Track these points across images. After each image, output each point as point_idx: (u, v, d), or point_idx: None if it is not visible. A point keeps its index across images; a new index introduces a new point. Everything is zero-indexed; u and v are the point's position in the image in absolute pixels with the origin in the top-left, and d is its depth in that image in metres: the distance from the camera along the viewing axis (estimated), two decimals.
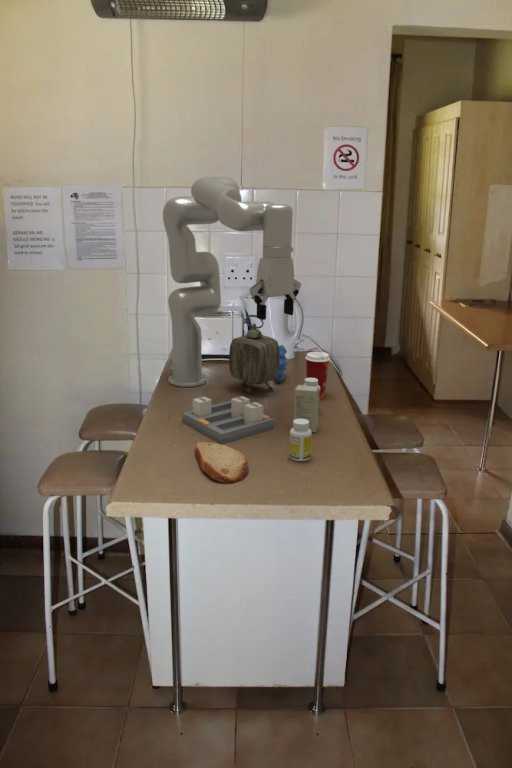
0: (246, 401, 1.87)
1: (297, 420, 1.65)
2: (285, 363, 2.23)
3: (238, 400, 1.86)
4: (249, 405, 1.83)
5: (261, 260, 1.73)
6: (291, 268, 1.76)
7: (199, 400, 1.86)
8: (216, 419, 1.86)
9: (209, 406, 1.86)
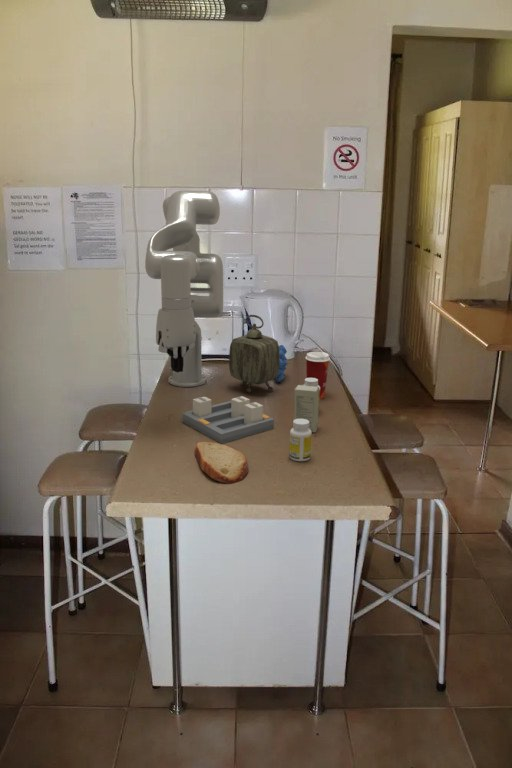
0: (246, 401, 1.87)
1: (297, 420, 1.65)
2: (285, 363, 2.23)
3: (238, 400, 1.86)
4: (249, 405, 1.83)
5: (159, 311, 1.71)
6: (191, 319, 1.74)
7: (199, 400, 1.86)
8: (216, 419, 1.86)
9: (209, 406, 1.86)
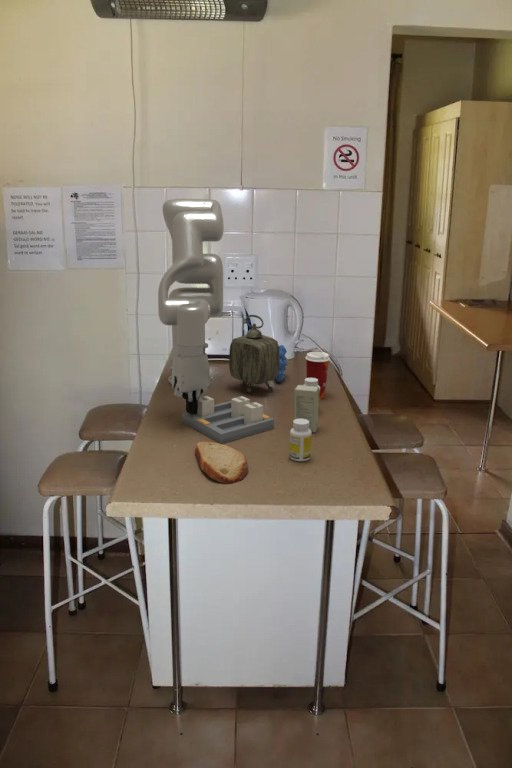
0: (246, 401, 1.87)
1: (297, 420, 1.65)
2: (285, 363, 2.23)
3: (238, 400, 1.86)
4: (249, 405, 1.83)
5: (175, 358, 1.78)
6: (206, 364, 1.81)
7: (202, 399, 1.86)
8: (216, 419, 1.86)
9: (212, 405, 1.87)
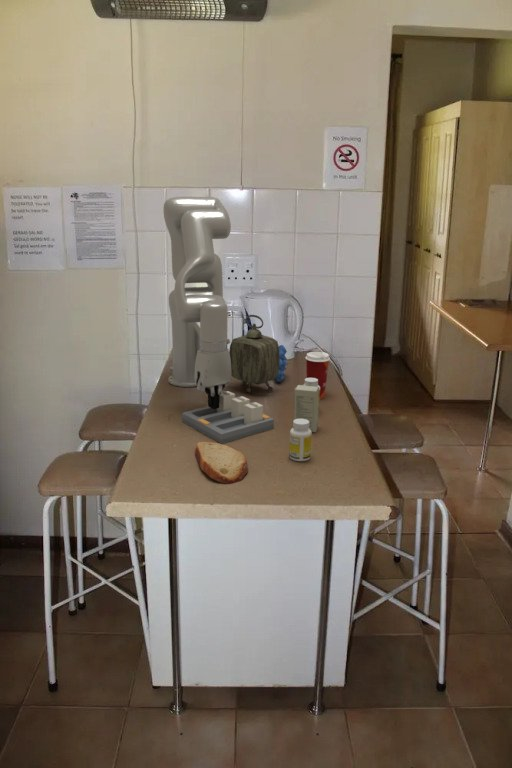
0: (246, 401, 1.87)
1: (297, 420, 1.65)
2: (285, 363, 2.23)
3: (238, 400, 1.86)
4: (249, 405, 1.83)
5: (198, 353, 1.82)
6: (228, 359, 1.86)
7: (223, 394, 1.91)
8: (216, 419, 1.86)
9: None
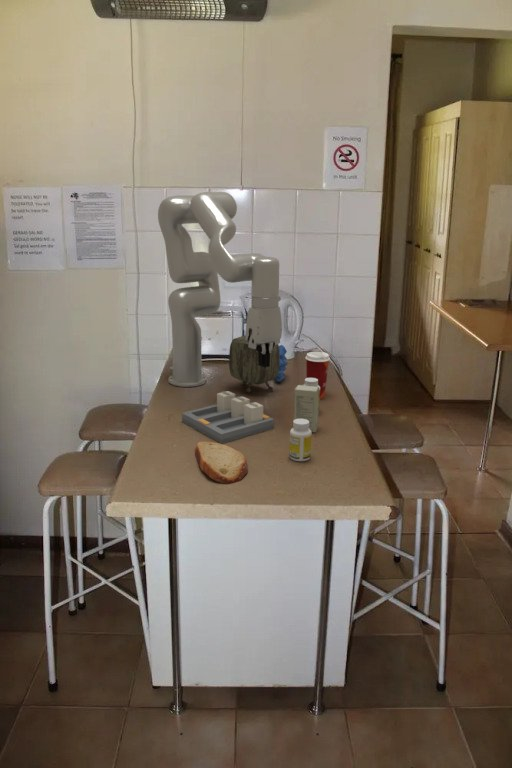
0: (246, 401, 1.87)
1: (297, 420, 1.65)
2: (285, 363, 2.23)
3: (238, 400, 1.86)
4: (249, 405, 1.83)
5: (250, 310, 1.82)
6: (279, 317, 1.85)
7: (223, 394, 1.91)
8: (216, 419, 1.86)
9: None
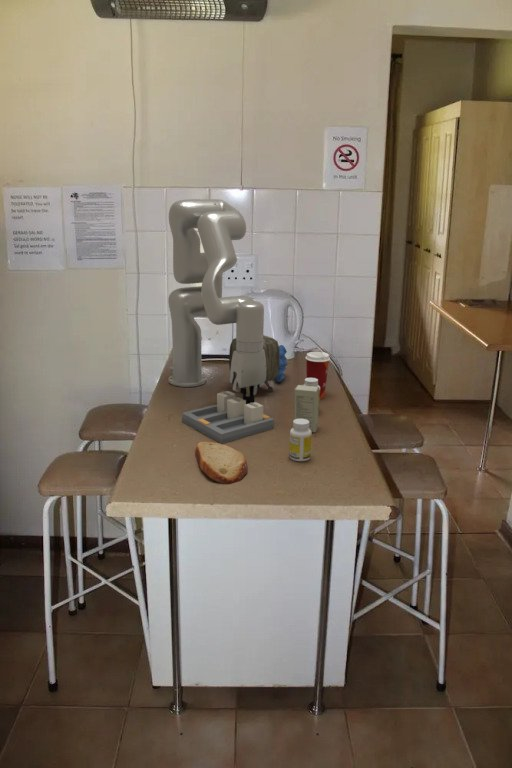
0: (242, 402, 1.86)
1: (297, 420, 1.65)
2: (285, 363, 2.23)
3: (234, 401, 1.85)
4: (249, 405, 1.83)
5: (234, 354, 1.83)
6: (263, 360, 1.86)
7: (223, 394, 1.91)
8: (216, 419, 1.86)
9: None
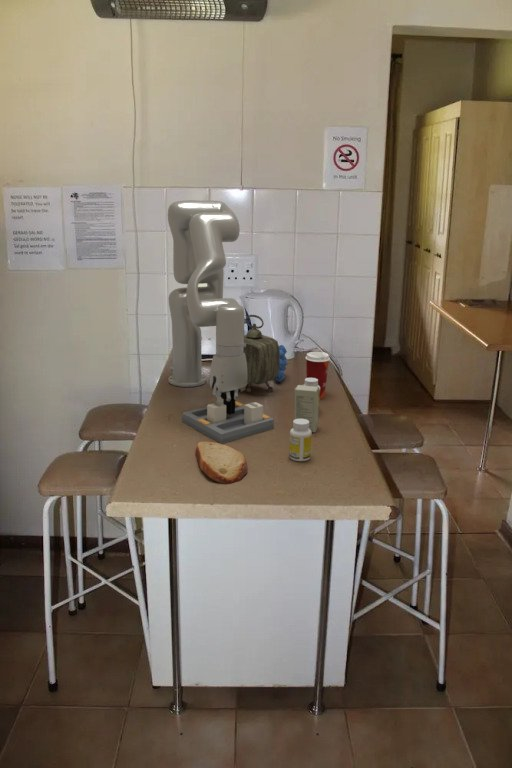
0: (222, 407, 1.82)
1: (297, 420, 1.65)
2: (285, 363, 2.23)
3: (214, 406, 1.81)
4: (249, 405, 1.83)
5: (214, 358, 1.79)
6: (244, 364, 1.82)
7: None
8: None
9: None
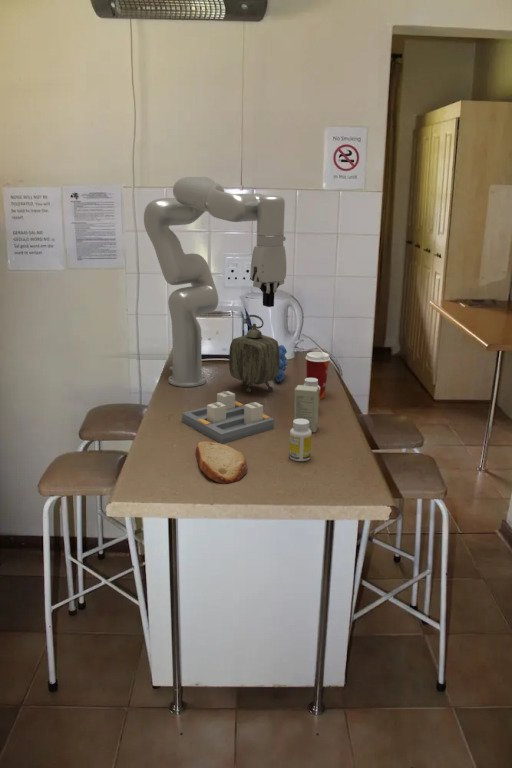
0: (222, 407, 1.82)
1: (297, 420, 1.65)
2: (285, 363, 2.23)
3: (214, 406, 1.81)
4: (249, 405, 1.83)
5: (255, 248, 1.84)
6: (283, 256, 1.87)
7: (223, 394, 1.91)
8: None
9: (233, 400, 1.91)
